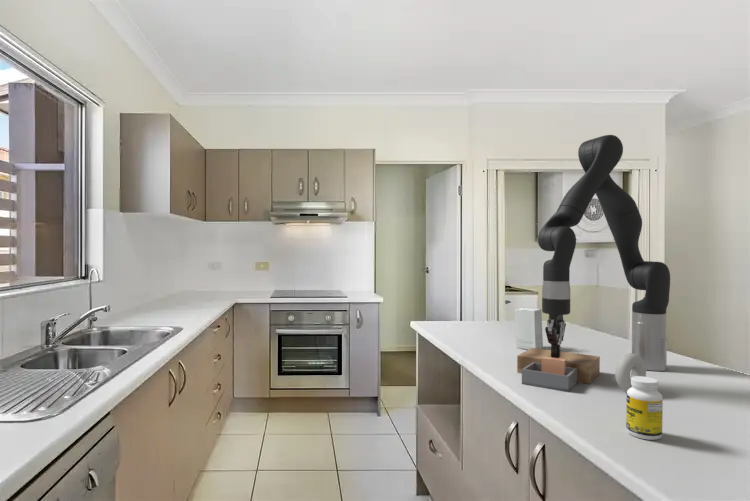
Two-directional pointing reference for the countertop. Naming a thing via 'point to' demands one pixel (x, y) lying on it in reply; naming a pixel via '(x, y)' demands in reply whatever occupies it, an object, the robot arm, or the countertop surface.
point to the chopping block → (584, 363)
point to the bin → (549, 378)
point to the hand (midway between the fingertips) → (555, 357)
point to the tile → (554, 365)
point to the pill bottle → (644, 409)
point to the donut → (629, 370)
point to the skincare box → (528, 328)
